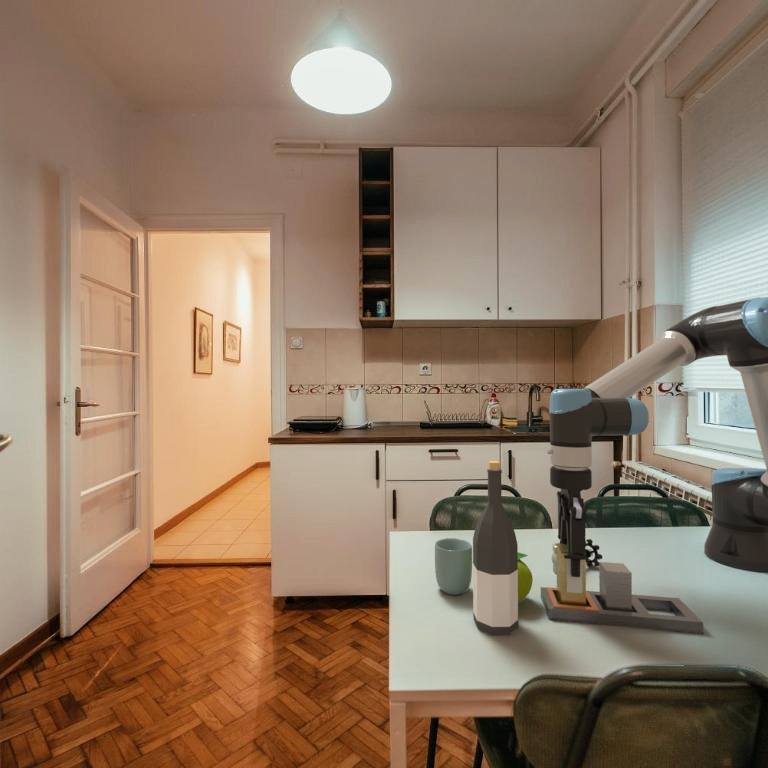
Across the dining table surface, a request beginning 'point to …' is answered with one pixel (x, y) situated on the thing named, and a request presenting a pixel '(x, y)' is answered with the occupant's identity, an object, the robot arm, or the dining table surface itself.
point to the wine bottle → (495, 564)
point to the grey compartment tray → (636, 618)
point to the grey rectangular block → (615, 587)
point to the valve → (587, 551)
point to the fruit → (523, 579)
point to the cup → (453, 565)
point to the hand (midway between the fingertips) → (571, 585)
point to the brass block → (562, 594)
